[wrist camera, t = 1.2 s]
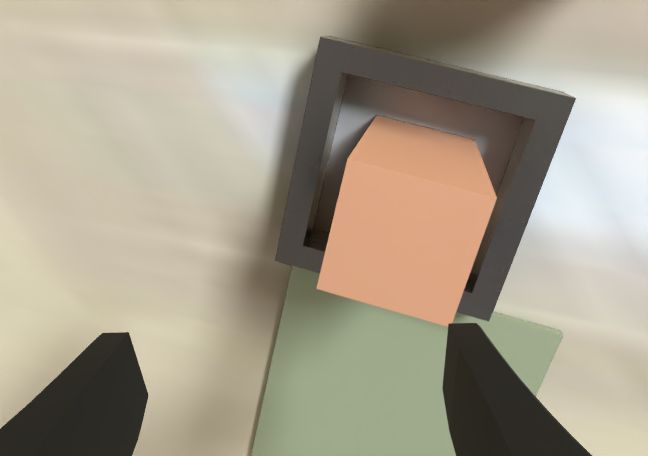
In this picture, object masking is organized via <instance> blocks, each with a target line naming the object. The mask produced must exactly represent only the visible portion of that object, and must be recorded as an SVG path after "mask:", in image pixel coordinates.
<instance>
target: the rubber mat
mask: <svg viewBox="0 0 648 456" xmlns="http://www.w3.org/2000/svg"><path fill="white" fill-rule="evenodd" d="M319 275H320V273H317V272H313V271H310V270H306V269H303V268H299V267H296V266H292V269H291V273H290V278H289V283H288V287H287V292H286V297H285V301H284V306H283V310H282V315H281V320H280V324H279V329H278V334H277V338H276V343H275V348H274V352H273V357H272V361H271V366H270V371H269V375H268V380H267V385H266V389H265V394H264V399H263V403H262V408H261V412H260V417H259V422H258V426H257V431H256V436H255V440H254V445H253V450H252V454H251V456H456V454H455V450H454V447H453V443H452V439H451V436H450V432H449V426H448V420H447V414H446V408H445V402H444V395H443V389H442V387H443V376H444V366H445V355H446V345H447V334H448V327H447V326H444V325H440V324H437V323H433V322H430V321H426V320H423V319H419V318H416V317H412V316H409V315H405V314H402V313H399V312H395V311H392V310H388V309H385V308H381V307H378V306H374V305H371V304H367V303H364V302H360V301H357V300H353V299H350V298H346V297H343V296H340V295H336V294H333V293H329V292H326V291H322V290H319V289H316V288H317V284H318V280H319ZM452 323H477V324H478V325H479V326H480V327H481V328H482V329H483V331H484V332H485V334H486V335H487V336H488V338H489V339H490V340H491V342H492V343H493V345H494V346H495V347H496V349H497V350H498V351H499V352H500V354H501V355H502V356H503V358H504V359H505V360H506V362H507V363H508V364H509V365H510V367H511V368H512V369H513V370H514V372H515V373H516V374H517V375H518V377H519V378H520V379H521V380H522V381H523V382H524V384H525V385H526V386H527V387H528V388H529V389H530V391H531V392H532V393H533V394H534V395H535V397H536V395H537V392H538V390H539V388H540V386H541V384H542V381H543V379H544V377H545V375H546V373H547V370H548V368H549V366H550V364H551V362H552V359H553V357H554V355H555V353H556V351H557V348H558V346H559V344H560V342H561V340H562V338H563V334H562V332H561V331H559V330H555V329H552V328H548V327H545V326H541V325H538V324H534V323H531V322H527V321H524V320H520V319H516V318H513V317H509V316H506V315H502V314H499V313H495V312H493V313H492V315H491V318H490V320H489V322H488V321H485V320H481V319H478V318H474V317H471V316H467V315H464V314H460V313H457V312H456V314H455V317H454V319H453V322H452Z"/></svg>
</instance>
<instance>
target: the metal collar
mask: <svg viewBox="0 0 648 456" xmlns="http://www.w3.org/2000/svg"><path fill="white" fill-rule="evenodd" d="M348 74H351V75H355V76H359V77H363V78H367V79H371V80H376V81H380V82H384V83H388V84H392V85H396V86H400V87H404V88H408V89H412V90H416V91H420V92H424V93H428V94H432V95H437V96H441V97H445V98H449V99H453V100H457V101H461V102H465V103H469V104H473V105H477V106H481V107H485V108H489V109H493V110H497V111H502V112H506V113H510V114H514V115H518V116H522V117H525V118H524V120H523V123H522V126H521V129H520V132H519V134H518V137H517V140H516V143H515V146H514V148H513V151H512V154H511V157H510V159H509V162H508V165H507V168H506V171H505V173H504V176H503V179H502V182H501V185H500V187H499V190H498V193H497V196H496V197H497V199H496V202H495V205H494V208H493V211H492V213H491V216H490V219H489V222H488V225H487V227H486V230H485V233H484V236H483V238H482V241H481V244H480V247H479V250H478V252H477V255H476V258H475V261H474V264H473V266H472V269H471V272H470V275H469V278H468V280H467V283H466V286H465V289H464V291H463V294H462V297H461V300H460V303H459V305H458V308H457V311H456V312H457V313H460V314H464V315H467V316H471V317H474V318H478V319H481V320H485V321H488V322H489V320H490V318H491V315H492V313H493V310H494V308H495V305H496V302H497V300H498V297H499V295H500V292H501V290H502V287H503V284H504V282H505V279H506V277H507V274H508V272H509V269H510V266H511V264H512V261H513V259H514V256H515V254H516V251H517V248H518V246H519V243H520V241H521V238H522V236H523V233H524V230H525V228H526V225H527V223H528V220H529V218H530V215H531V212H532V210H533V207H534V205H535V202H536V199H537V197H538V194H539V192H540V189H541V187H542V184H543V181H544V179H545V176H546V174H547V171H548V169H549V166H550V163H551V161H552V158H553V156H554V153H555V151H556V148H557V145H558V143H559V140H560V138H561V135H562V133H563V130H564V127H565V125H566V122H567V120H568V117H569V115H570V112H571V109H572V107H573V104H574V102H575V99H576V98H574V97H572V96H570V95H568V94H566V93H564V92H561V91H557V90H553V89H548V88H544V87H540V86H536V85H532V84H528V83H523V82H519V81H515V80H511V79H507V78H503V77H498V76H494V75H490V74H486V73H482V72H478V71H473V70H469V69H465V68H461V67H457V66H453V65H448V64H444V63H440V62H436V61H432V60H428V59H423V58H419V57H415V56H411V55H407V54H403V53H398V52H394V51H390V50H386V49H382V48H377V47H373V46H369V45H365V44H361V43H357V42H352V41H348V40H344V39H340V38H336V37H332V36H325V37H320V41H319V45H318V50H317V55H316V60H315V65H314V70H313V75H312V80H311V85H310V90H309V95H308V100H307V105H306V110H305V115H304V120H303V125H302V130H301V135H300V140H299V145H298V150H297V155H296V160H295V165H294V170H293V175H292V179H291V184H290V189H289V194H288V199H287V204H286V209H285V214H284V219H283V224H282V229H281V234H280V239H279V244H278V249H277V254H276V259H275V261H278V262H282V263H285V264H289V265H292V266H296V267H299V268H303V269H306V270H310V271H313V272H317V273H320V271H321V267H322V263H323V259H324V255H325V250H326V246H327V242H328V238H329V233H325V232H322V231H318V230H315V229H313V227H314V222H315V218H316V213H317V209H318V204H319V200H320V196H321V191H322V187H323V182H324V178H325V173H326V169H327V165H328V160H329V156H330V151H331V147H332V142H333V138H334V134H335V129H336V125H337V120H338V116H339V111H340V107H341V102H342V98H343V94H344V89H345V85H346V80H347V76H348Z"/></svg>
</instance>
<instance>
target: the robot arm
mask: <svg viewBox="0 0 648 456" xmlns="http://www.w3.org/2000/svg"><path fill="white" fill-rule="evenodd" d="M442 389H443V395H444V402H445V408H446V414H447V420H448V426H449V432H450V436H451V439H452V443H453V447H454V450H455V454H456V456H592V455H591V454H590V453H589V452H588V451H587V450H586V449H585V448H584V447H583V446H582V445H581V444H580V443H579V442H578V441H577V440H576V439H575V438H574V437H573V436H572V435H571V434H570V433H569V432H568V431H567V430H566V429H565V428H564V427H563V426H562V425H561V424H560V423H559V422H558V421H557V420H556V419H555V418H554V417H553V416H552V414H551V413H550V412H549V411H548V410H547V409H546V408H545V407H544V406H543V405H542V403H541V402H540V401H539V400H538V399H537V398H536V397H535V395H534V394H533V393H532V392H531V391H530V389H529V388H528V387H527V386H526V385H525V384H524V382H523V381H522V380H521V379H520V378H519V377H518V375H517V374H516V373H515V372H514V370H513V369H512V368H511V367H510V365H509V364H508V363H507V362H506V360H505V359H504V358H503V356H502V355H501V354H500V352H499V351H498V350H497V349H496V347H495V346H494V345H493V343H492V342H491V340H490V339H489V338H488V336H487V335H486V334H485V332H484V331H483V329H482V328H481V327H480V326H479V325H478V324H477V323H449V324H448V334H447V345H446V355H445V366H444V376H443V387H442ZM147 399H148V392H147V389H146V386H145V383H144V380H143V376H142V373H141V370H140V367H139V364H138V360H137V357H136V354H135V351H134V348H133V345H132V341H131V338H130V335H129V332H125V333H102V334H101V335H100V336H99V337H98V338H97V339H96V340H94V341H93V342H92V343H91V344H90V345H89V346H88V347H87V348H86V349H85V350H84V351H83V352H82V353H81V354H80V355H79V356H78V357H77V358H76V359H75V360H74V361H73V362H72V363H71V364H70V365H69V366H68V367H67V368H66V369H65V370H64V371H63V372H62V373H61V374H60V375H59V376H57V377H56V378H55V379H54V380H53V381H52V382H51V383H50V384H49V385H48V386H47V387H46V388H45V389H44V390H43V391H42V392H41V393H40V394H39V395H38V396H36V397H35V398H34V399H33V400H32V401H31V402H30V403H29V404H28V405H27V406H26V407H25V408H23V409H22V410H21V411H20V412H19V413H18V414H17V415H15V416H14V417H13V418H12V419H11V420H10V421H9V422H8V423H6V424H5V425H4V426H3V427H2V428H1V429H0V456H132V454H133V451H134V448H135V446H136V443H137V440H138V437H139V433H140V429H141V425H142V421H143V417H144V413H145V408H146V404H147Z"/></svg>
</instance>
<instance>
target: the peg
mask: <svg viewBox="0 0 648 456" xmlns="http://www.w3.org/2000/svg"><path fill="white" fill-rule="evenodd" d="M496 199H497V197H496V194H495V191H494V189H493V186H492V183H491V181H490V178H489V175H488V173H487V170H486V167H485V165H484V162H483V159H482V157H481V154H480V151H479V149H478V146H477V144H476V141H475V140H474V139H470V138H466V137H462V136H458V135H454V134H450V133H446V132H442V131H438V130H434V129H430V128H426V127H422V126H418V125H414V124H411V123H407V122H403V121H399V120H395V119H391V118H387V117H383V116H379V115H376V117H375V118H374V120H373V121H372V123H371V124H370V126H369V127H368V129H367V130H366V132H365V133H364V135H363V136H362V138H361V139H360V141H359V142H358V144H357V145H356V147H355V148H354V150H353V151H352V153H351V154H350V156H349V157H348V159H347V163H346V167H345V171H344V175H343V179H342V184H341V188H340V192H339V196H338V200H337V204H336V209H335V213H334V217H333V221H332V225H331V229H330V234H329V238H328V242H327V246H326V250H325V255H324V259H323V263H322V267H321V271H320V275H319V280H318V284H317V288H316V289H319V290H322V291H326V292H329V293H333V294H336V295H340V296H343V297H346V298H350V299H353V300H357V301H360V302H364V303H367V304H371V305H374V306H378V307H381V308H385V309H388V310H392V311H395V312H399V313H402V314H405V315H409V316H412V317H416V318H419V319H423V320H426V321H430V322H433V323H437V324H440V325H444V326H447V327H448V324H449V323H452V322H453V319H454V317H455V314H456V311H457V308H458V305H459V303H460V300H461V297H462V294H463V291H464V289H465V286H466V283H467V280H468V278H469V275H470V272H471V269H472V266H473V264H474V261H475V258H476V255H477V252H478V250H479V247H480V244H481V241H482V238H483V236H484V233H485V230H486V227H487V225H488V222H489V219H490V216H491V213H492V211H493V208H494V205H495V202H496Z"/></svg>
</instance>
